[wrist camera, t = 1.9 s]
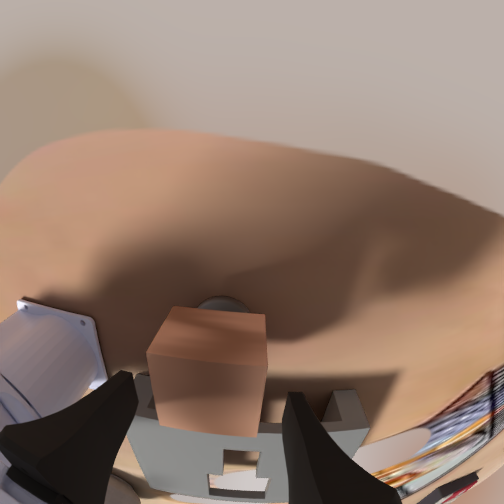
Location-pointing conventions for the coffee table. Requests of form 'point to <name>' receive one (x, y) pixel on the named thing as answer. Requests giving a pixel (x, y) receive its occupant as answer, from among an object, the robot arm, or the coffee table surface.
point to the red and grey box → (450, 490)
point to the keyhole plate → (212, 449)
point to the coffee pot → (120, 492)
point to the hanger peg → (210, 368)
